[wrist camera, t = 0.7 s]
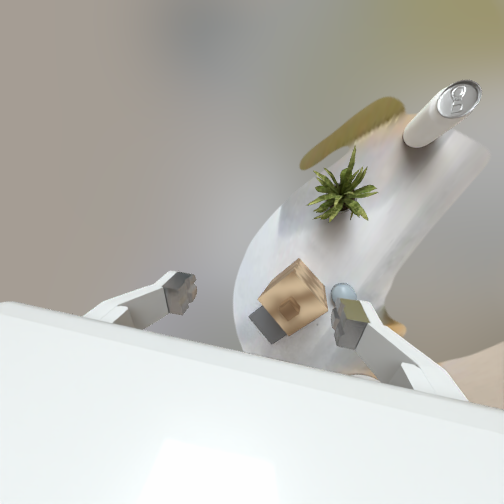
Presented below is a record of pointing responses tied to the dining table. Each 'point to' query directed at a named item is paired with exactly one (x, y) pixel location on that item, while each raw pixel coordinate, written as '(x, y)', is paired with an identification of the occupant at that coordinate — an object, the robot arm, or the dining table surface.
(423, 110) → the can
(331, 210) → the house plant
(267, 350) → the dining table surface
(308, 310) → the oak cover
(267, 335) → the felt mat
